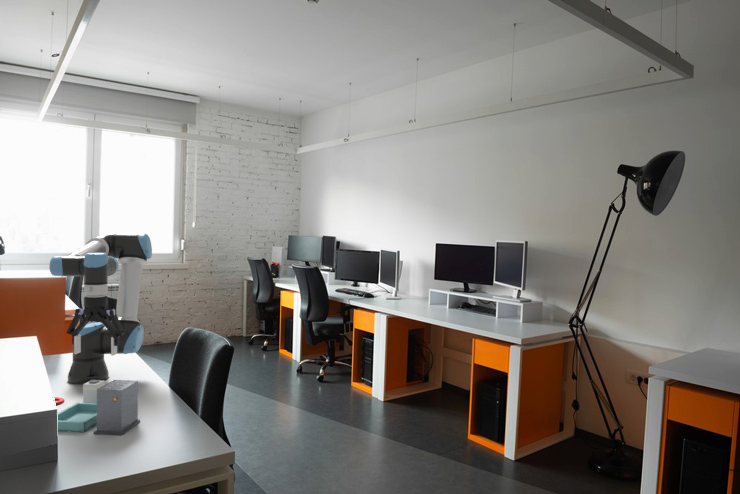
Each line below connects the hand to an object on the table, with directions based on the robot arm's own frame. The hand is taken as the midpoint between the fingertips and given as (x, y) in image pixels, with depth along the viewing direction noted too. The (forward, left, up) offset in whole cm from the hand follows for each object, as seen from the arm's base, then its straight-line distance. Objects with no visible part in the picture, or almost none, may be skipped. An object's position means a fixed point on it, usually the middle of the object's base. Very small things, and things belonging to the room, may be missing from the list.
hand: (95, 354), depth 186 cm
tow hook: (+1, -16, -19) cm, 25 cm away
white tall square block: (0, 0, -18) cm, 18 cm away
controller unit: (+20, +20, -18) cm, 34 cm away
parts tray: (+16, +5, -18) cm, 25 cm away
